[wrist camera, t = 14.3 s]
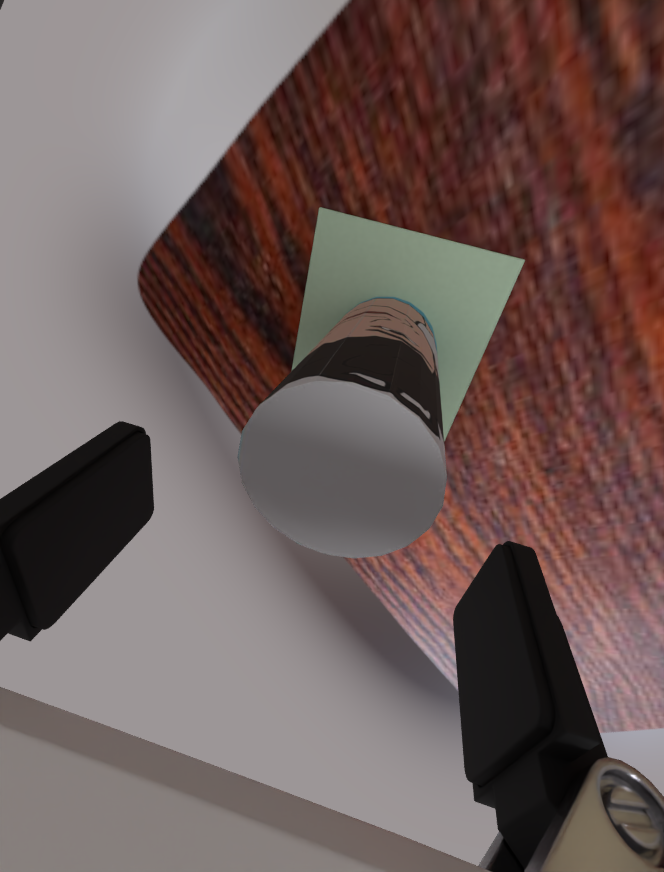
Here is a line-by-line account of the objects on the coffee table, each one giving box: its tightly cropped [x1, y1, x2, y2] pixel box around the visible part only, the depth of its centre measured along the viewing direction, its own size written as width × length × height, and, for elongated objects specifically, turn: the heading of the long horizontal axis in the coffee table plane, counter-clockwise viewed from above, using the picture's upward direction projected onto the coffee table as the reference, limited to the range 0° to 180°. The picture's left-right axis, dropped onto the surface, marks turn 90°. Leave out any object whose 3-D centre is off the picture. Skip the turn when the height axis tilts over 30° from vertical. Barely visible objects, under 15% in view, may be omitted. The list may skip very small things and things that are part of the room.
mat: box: [292, 207, 525, 441], centre depth 25 cm, size 12×14×1 cm
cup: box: [238, 297, 447, 558], centre depth 18 cm, size 7×7×15 cm
